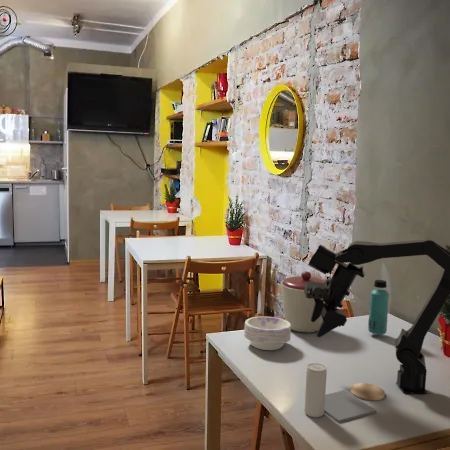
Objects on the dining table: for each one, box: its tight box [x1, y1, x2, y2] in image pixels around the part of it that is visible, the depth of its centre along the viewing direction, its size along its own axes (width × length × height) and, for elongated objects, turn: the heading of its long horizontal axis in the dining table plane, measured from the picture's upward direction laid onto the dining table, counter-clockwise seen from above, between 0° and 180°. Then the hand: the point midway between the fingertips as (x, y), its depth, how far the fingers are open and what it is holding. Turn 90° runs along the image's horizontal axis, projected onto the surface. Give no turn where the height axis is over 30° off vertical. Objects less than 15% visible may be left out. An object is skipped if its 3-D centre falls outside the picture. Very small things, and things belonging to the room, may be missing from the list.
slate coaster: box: [324, 389, 378, 423], centre depth 133 cm, size 12×12×1 cm
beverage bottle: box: [367, 279, 390, 335], centre depth 185 cm, size 6×7×20 cm
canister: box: [280, 270, 326, 334], centre depth 190 cm, size 18×18×21 cm
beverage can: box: [303, 362, 328, 419], centre depth 128 cm, size 5×5×12 cm
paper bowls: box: [243, 315, 292, 351], centre depth 173 cm, size 15×15×8 cm
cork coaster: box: [349, 382, 386, 402], centre depth 141 cm, size 9×9×1 cm
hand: (315, 328), depth 151 cm, fingers open, 9 cm apart
